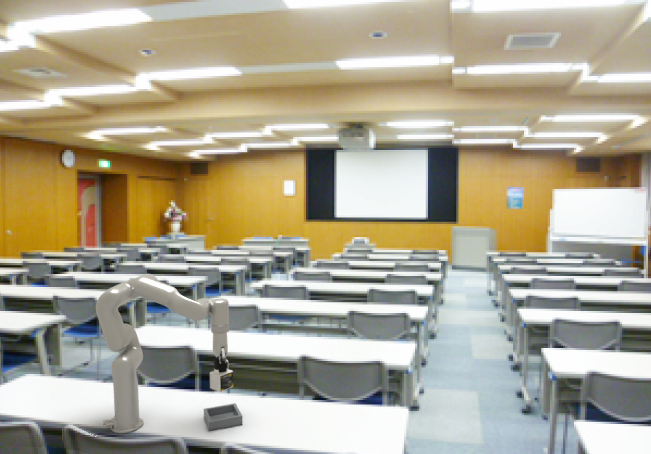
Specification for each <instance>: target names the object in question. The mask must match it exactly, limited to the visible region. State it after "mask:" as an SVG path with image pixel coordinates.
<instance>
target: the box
mask: <svg viewBox="0 0 651 454" xmlns="http://www.w3.org/2000/svg"><path fill="white" fill-rule="evenodd" d="M203 419H204V423H205V424H206V428H207V430H208V432H209V433H210V432H214V431H219V430H223V429H229V428H235V427H240V426H243V414H242V412H241V411H240V409H239V407H238V405H237V403H236V402H234V403H230V404H223V405H218V406H213V407H207V408H203Z"/></svg>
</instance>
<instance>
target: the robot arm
mask: <svg viewBox="0 0 651 454" xmlns="http://www.w3.org/2000/svg"><path fill="white" fill-rule="evenodd" d="M139 297H140V298H143V299H146V300H149V301H151V302H154V303H157V304H159V305H161V306H165V307H166V308H168V309H169V310H170V311H172V312H173V313H175V314H178V315H180V316H182V317H184V318H187V319H189V320H190V319H191V320H193V321H203V320H205V318H206V317H207V316H209V315H210V327H211V328H210V331H211V334H212V353H213V355H214V356H215V361H216V360H218V359H219V373H222V372H226V371H227V363H226V360H227V356H228V354H229V353H228V348H229V347H228V333H229V332H230V315H229V314H230V310H229V309H230V307H229V306H230V305H229V301H228V299H227V298H214V299H213V298H207V297H206V298H203V297H201V298H198V299H196V300H193V299H190V298H188V297H185V296H184V295H182V294H181V293H180V292H179V291H178V290H177V288H175V287H174V286H172V285H169V284H167V283H165V282H162V281H158V278H157V277H156V276H155V275H154V274H151V273H145V274H142V275H139V276H138V277H135V278H131V279H129V280H127V281H124V282H121V283H119V284H116V285H114V286H112V287H110V288H108V289H107V290H105V291H103V293H102V294H100V296H99V297H98V299H97V300H96V303H95V312H96V315H97V318H98V322H99V324H100V329H101V331H102V335H103V338H104V341H105V344H106V346H107V348H108V349H109V351H111V352H114V353H118V354H117V356H116V357H115V358H114V359H113V361H112V363H111V365H110V366H111V367H110V373H111V377H112V383H113V404H114V405H113V406H114V407H113V408H114V416H113V417H111V419H104V420H102V421H103V422H102V423H103V426H105V427H110V431H111V432H113V433H115V434H127V433H131V432H135V431H137V430H139V429H141V428H142V427H143V425H144V420H143V418H141V417H140V404H139V403H140V400H139V383H138V382H139V381H138V375H137V369H138V367H140V365H141V364H142V362H143V359H144V354H143V350H142V346H141V343H140V340H139V337H138V334H137V331H136V330H135V328H134V327H133V326H132V325H130V324H129V323H124V322H123V317H122V315H121V313H120V312H119V307H121V306H123V305H125V304H127V303H128V302H130V301H132V300H135V299H137V298H139ZM134 430H135V431H134Z"/></svg>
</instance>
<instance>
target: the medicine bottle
mask: <svg viewBox="0 0 651 454" xmlns="http://www.w3.org/2000/svg"><path fill="white" fill-rule="evenodd" d="M226 363H227V371H226V372H222V373H219V359H218V360H216V359H215V360H214V362H213V370H212V371H210V372H209V389H211V390H213V391H217V392H219V393H220V392H221V393H222V392H224V391H227V390H229V389H231V388H233V387H234V371H233V370H232V369H229V360H228V359H226Z"/></svg>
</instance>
